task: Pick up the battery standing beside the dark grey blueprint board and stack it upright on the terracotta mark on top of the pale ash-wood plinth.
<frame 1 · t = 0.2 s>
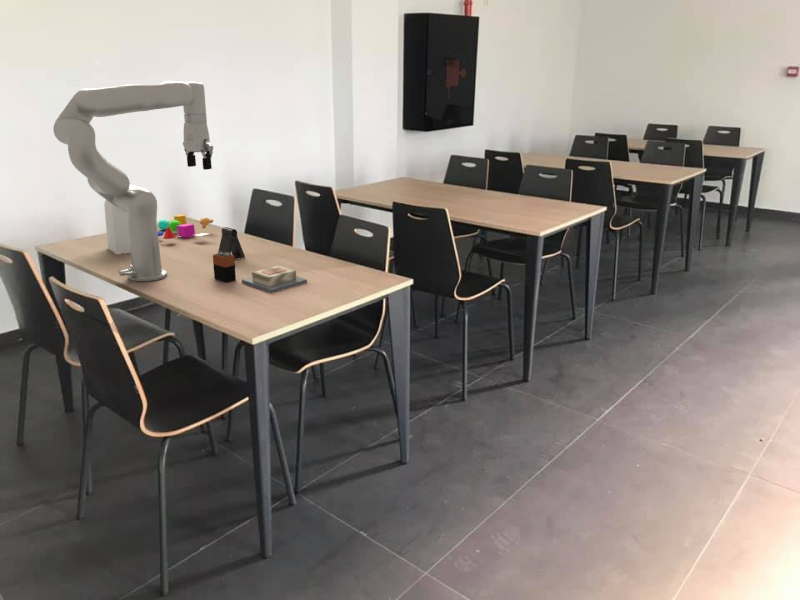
hand: (199, 167, 228), 36 cm above the table, tool pointing down, fingers open, 9 cm apart
plinth: (274, 275, 220), on the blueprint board, point 3 cm above the table
battery: (225, 280, 223), on the table
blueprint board: (274, 282, 221), on the table
milk: (127, 249, 257), on the table
shape set: (180, 236, 280), on the table
phone stand: (231, 258, 249), on the table
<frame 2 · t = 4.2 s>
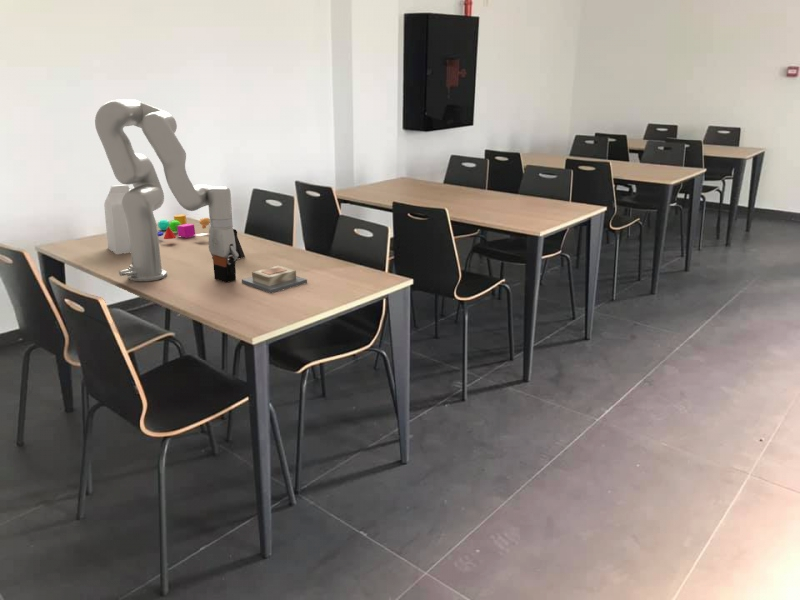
hand: (224, 272, 222), 3 cm above the table, tool pointing down, fingers closed on battery, 7 cm apart
battery: (225, 280, 223), on the table, touching gripper
everything else where it was.
when the fingers open (9 cm above the table, at t = 10.7 s): battery drops 1 cm, resting on plinth.
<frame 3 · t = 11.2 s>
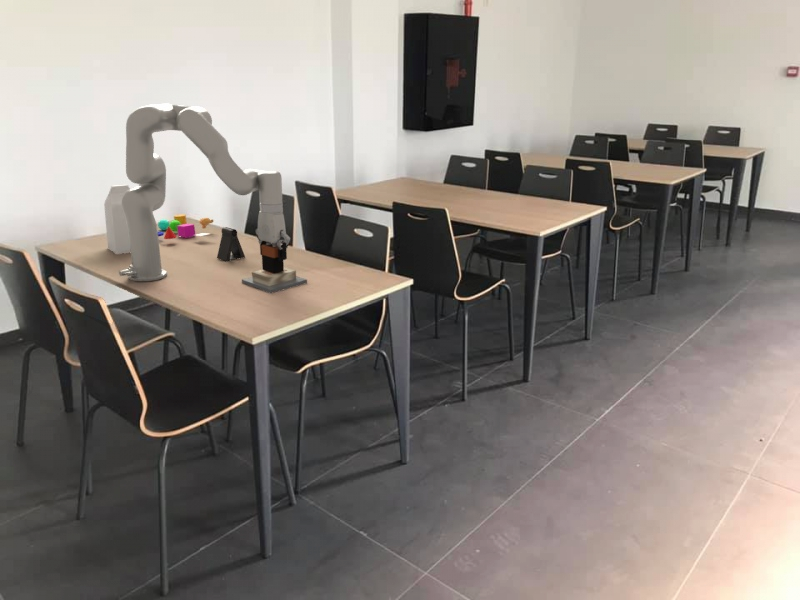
hand: (273, 257, 218), 9 cm above the table, tool pointing down, fingers open, 9 cm apart
battery: (273, 271, 219), point 4 cm above the table, touching plinth
everything else where it was.
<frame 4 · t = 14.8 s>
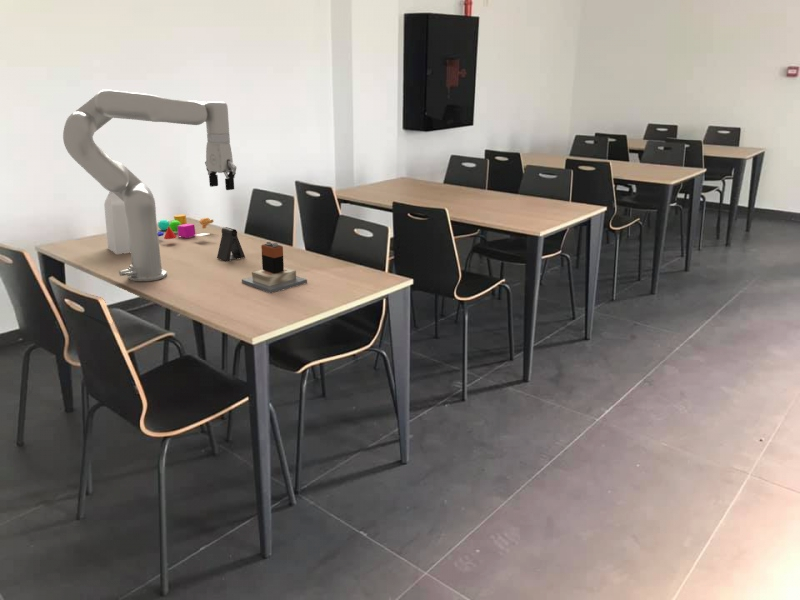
hand: (221, 187, 224), 30 cm above the table, tool pointing down, fingers open, 9 cm apart
nothing on the table moved.
at the end: battery 0.4 cm off-centre on the plinth, point 4.2 cm above the plinth's base; battery tilted 0°; the gripper is holding nothing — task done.
